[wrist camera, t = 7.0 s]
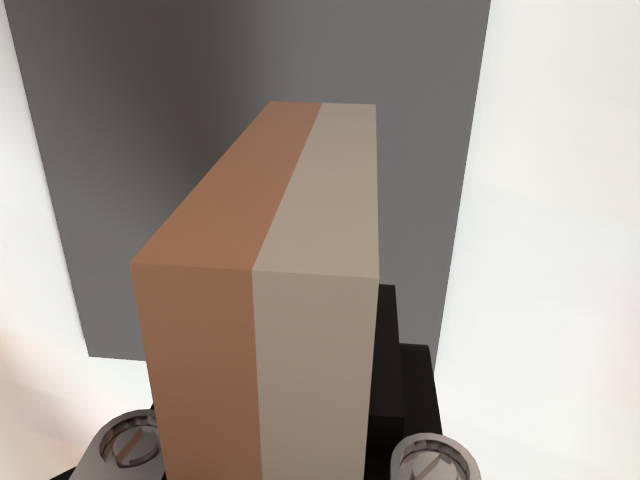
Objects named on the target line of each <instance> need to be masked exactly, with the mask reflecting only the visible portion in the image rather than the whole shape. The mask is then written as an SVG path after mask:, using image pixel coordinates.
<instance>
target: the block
mask: <svg viewBox="0 0 640 480" xmlns="http://www.w3.org/2000/svg"><path fill="white" fill-rule="evenodd" d="M129 266H130V271H131V277H132V283H133V289H134V294H135V300H136V306H137V312H138V317H139V323H140V329H141V335H142V340H143V346H144V352H145V358H146V363H147V369H148V375H149V381H150V386H151V392H152V398H153V404H154V409H155V415H156V421H157V427H158V432H159V438H160V444H161V450H162V455H163V461H164V467H165V473H166V478H167V480H363V478H364V465H365V452H366V440H367V427H368V414H369V401H370V389H371V376H372V363H373V351H374V338H375V325H376V313H377V300H378V287H379V242H378V191H377V141H376V105H375V104H346V103H318V102H290V101H270V102H269V103H268V104H267V105H266V107H265V108H264V109H263V110H262V111H261V112H260V114H259V115H258V116H257V117H256V118H255V119H254V120H253V122H252V123H251V124H250V125H249V126H248V127H247V128H246V130H245V131H244V132H243V133H242V134H241V135H240V136H239V138H238V139H237V140H236V141H235V142H234V143H233V144H232V146H231V147H230V148H229V149H228V150H227V151H226V152H225V154H224V155H223V156H222V157H221V158H220V159H219V160H218V162H217V163H216V164H215V165H214V166H213V167H212V168H211V170H210V171H209V172H208V173H207V174H206V175H205V176H204V178H203V179H202V180H201V181H200V182H199V183H198V184H197V186H196V187H195V188H194V189H193V190H192V191H191V192H190V194H189V195H188V196H187V197H186V198H185V199H184V200H183V202H182V203H181V204H180V205H179V206H178V207H177V208H176V210H175V211H174V212H173V213H172V214H171V215H170V216H169V218H168V219H167V220H166V221H165V222H164V223H163V224H162V226H161V227H160V228H159V229H158V230H157V231H156V232H155V234H154V235H153V236H152V237H151V238H150V239H149V240H148V242H147V243H146V244H145V245H144V246H143V247H142V248H141V250H140V251H139V252H138V253H137V254H136V255H135V256H134V258H133V259H132V260H131V261H130V262H129Z"/></svg>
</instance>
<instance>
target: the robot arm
mask: <svg viewBox="0 0 640 480" xmlns="http://www.w3.org/2000/svg"><path fill="white" fill-rule="evenodd" d="M50 480H167V478H166V473H165V467H164V461H163V455H162V450H161V444H160V438H159V432H158V427H157V421H156V415H155V409H154V404H152V406H151V408H150V409H144V410H135V411H131V412H127V413H124V414H122V415H120V416H118V417H116V418H114V419H112V420H111V421H109V422H108V423H107V424H106V425H104V426H103V427H102V428H101V429H100V430H99V431H98V433H97V434H96V435H95V436H94V438H93V440H92V441H91V443H90V445H89V446H88V448H87V450H86V451H85V453H84V455H83V456H82V458H81V460H80V462H79V463H78V465H77V466H76V467H74V468H72V469H70V470H68V471H66V472H64V473H62V474H60V475H58V476H56V477H54V478H52V479H50ZM363 480H481V475H480V471H479V468H478V466H477V463H476V460H475V459H474V458H473V456H472V455H471V454H470V453H469V451H468V450H467V449H466V448H464V447H463V446H462V445H461V444H459V443H458V442H457V441H455V440H452V439H450V438H448V437H446V436H443V434H442V427H441V421H440V414H439V408H438V401H437V395H436V388H435V382H434V375H433V369H432V362H431V356H430V350H429V346H428V345H421V344H407V343H399V330H398V316H397V303H396V289H395V285H387V284H379V287H378V300H377V313H376V325H375V338H374V351H373V363H372V376H371V389H370V401H369V414H368V427H367V440H366V452H365V465H364V478H363Z"/></svg>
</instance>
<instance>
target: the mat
mask: <svg viewBox="0 0 640 480" xmlns="http://www.w3.org/2000/svg"><path fill="white" fill-rule="evenodd" d="M490 3H491V0H4V4H5V8H6V12H7V16H8V21H9V25H10V29H11V33H12V37H13V42H14V46H15V50H16V54H17V58H18V62H19V67H20V71H21V75H22V79H23V83H24V87H25V92H26V96H27V100H28V104H29V108H30V112H31V117H32V121H33V125H34V129H35V133H36V137H37V142H38V146H39V150H40V154H41V158H42V163H43V167H44V171H45V175H46V179H47V183H48V188H49V192H50V196H51V200H52V204H53V208H54V213H55V217H56V221H57V225H58V229H59V233H60V238H61V242H62V246H63V250H64V254H65V258H66V263H67V267H68V271H69V275H70V279H71V284H72V288H73V292H74V296H75V300H76V304H77V309H78V313H79V317H80V321H81V325H82V329H83V334H84V338H85V342H86V346H87V350H88V354H89V357H101V358H114V359H126V360H139V361H146V358H145V352H144V346H143V340H142V335H141V329H140V323H139V317H138V312H137V306H136V300H135V294H134V289H133V283H132V277H131V271H130V266H129V262H130V261H131V260H132V259H133V258H134V256H135V255H136V254H137V253H138V252H139V251H140V250H141V248H142V247H143V246H144V245H145V244H146V243H147V242H148V240H149V239H150V238H151V237H152V236H153V235H154V234H155V232H156V231H157V230H158V229H159V228H160V227H161V226H162V224H163V223H164V222H165V221H166V220H167V219H168V218H169V216H170V215H171V214H172V213H173V212H174V211H175V210H176V208H177V207H178V206H179V205H180V204H181V203H182V202H183V200H184V199H185V198H186V197H187V196H188V195H189V194H190V192H191V191H192V190H193V189H194V188H195V187H196V186H197V184H198V183H199V182H200V181H201V180H202V179H203V178H204V176H205V175H206V174H207V173H208V172H209V171H210V170H211V168H212V167H213V166H214V165H215V164H216V163H217V162H218V160H219V159H220V158H221V157H222V156H223V155H224V154H225V152H226V151H227V150H228V149H229V148H230V147H231V146H232V144H233V143H234V142H235V141H236V140H237V139H238V138H239V136H240V135H241V134H242V133H243V132H244V131H245V130H246V128H247V127H248V126H249V125H250V124H251V123H252V122H253V120H254V119H255V118H256V117H257V116H258V115H259V114H260V112H261V111H262V110H263V109H264V108H265V107H266V105H267V104H268V103H269V102H270V101H290V102H318V103H346V104H375V105H376V141H377V191H378V242H379V284H387V285H395V289H396V303H397V316H398V330H399V343H407V344H421V345H428V346H429V350H430V356H431V362H432V369H433V375H434V369H435V363H436V356H437V350H438V343H439V337H440V330H441V323H442V317H443V310H444V304H445V297H446V291H447V284H448V278H449V271H450V265H451V258H452V252H453V245H454V238H455V232H456V225H457V219H458V212H459V206H460V199H461V193H462V186H463V180H464V173H465V167H466V160H467V153H468V147H469V140H470V134H471V127H472V121H473V114H474V108H475V101H476V95H477V88H478V82H479V75H480V68H481V62H482V55H483V49H484V42H485V36H486V29H487V23H488V16H489V10H490Z"/></svg>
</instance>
